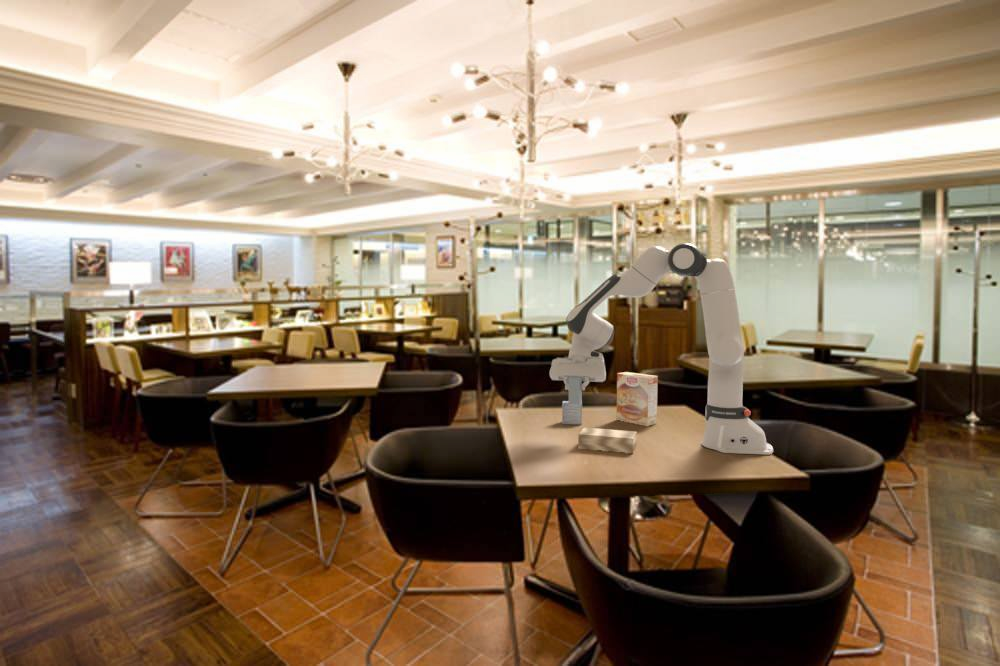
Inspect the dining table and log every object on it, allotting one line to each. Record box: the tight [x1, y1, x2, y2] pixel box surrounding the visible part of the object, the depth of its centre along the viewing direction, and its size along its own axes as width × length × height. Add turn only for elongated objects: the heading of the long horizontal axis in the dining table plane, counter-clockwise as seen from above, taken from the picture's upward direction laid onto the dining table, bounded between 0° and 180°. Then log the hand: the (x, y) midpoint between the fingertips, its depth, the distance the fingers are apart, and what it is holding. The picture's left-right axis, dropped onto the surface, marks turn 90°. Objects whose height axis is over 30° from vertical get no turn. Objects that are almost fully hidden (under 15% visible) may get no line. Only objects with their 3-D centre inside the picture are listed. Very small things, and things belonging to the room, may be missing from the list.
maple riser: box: [577, 427, 638, 454], centre depth 195 cm, size 18×10×5 cm, turn 71°
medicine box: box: [561, 400, 583, 425], centre depth 230 cm, size 8×4×9 cm, turn 84°
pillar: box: [567, 377, 583, 405], centre depth 204 cm, size 4×4×9 cm
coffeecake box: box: [615, 371, 659, 427], centre depth 232 cm, size 15×7×20 cm, turn 43°
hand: (574, 389), depth 204 cm, fingers closed on pillar, 4 cm apart
